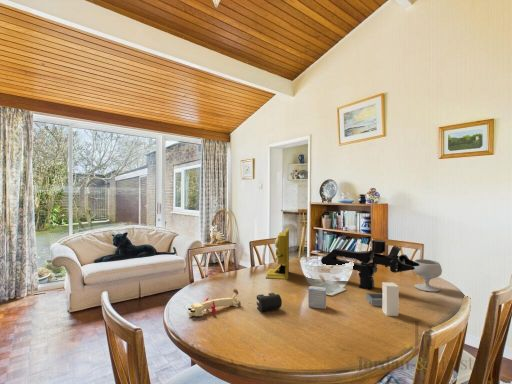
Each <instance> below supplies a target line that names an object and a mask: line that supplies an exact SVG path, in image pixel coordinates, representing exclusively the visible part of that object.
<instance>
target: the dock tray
mask: <svg viewBox="0 0 512 384" xmlns="http://www.w3.org/2000/svg"><path fill="white" fill-rule="evenodd" d="M365 299H366V301H368V303H369V304H370V306H372V307H382V293H381V292H378V293H377V292H366V293H365Z"/></svg>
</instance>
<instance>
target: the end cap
mask: <svg viewBox="0 0 512 384" xmlns="http://www.w3.org/2000/svg"><path fill="white" fill-rule="evenodd" d="M256 300H257V301H256V309H257V311H259V312H260V313H263V312H267V311H274V310H279V309H280V308H282V304H283V302H282V297H281V295H280V294H278V293H277V294H276V293H274V292H269V293H268V295H264V294H257V295H256Z"/></svg>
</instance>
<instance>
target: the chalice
mask: <svg viewBox="0 0 512 384" xmlns="http://www.w3.org/2000/svg"><path fill="white" fill-rule="evenodd" d="M414 262H417V263H419V266H414V267H415V269H414V270H412V271H413V272H414V273H415V275H418V276H419V277H421V278H422V279H423V280H424V283H417V284H415V285H414V288H415V289H418V290H420V291H424V292H434V293H435V292H439V291H441V289H440V288H439V287H437V286H434V285H431V284H429V283H430V281H431V280H433V279H437V278H438V277H440V276H441V275H442V272H443V268H442V266H441V264H440V262H439V261H435V260H431V259H424V258H423V259H422V258H421V259H420V258H419V259H415V260H414Z"/></svg>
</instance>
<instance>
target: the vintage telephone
mask: <svg viewBox="0 0 512 384" xmlns="http://www.w3.org/2000/svg"><path fill="white" fill-rule="evenodd" d="M274 246H275V248H276V249H275V261H277V264H278V265H277V266H276V268H269V269H268V270H267V273H266V276H265V279H272V280H273V279H274V280H275V279H276V280H277V279H278V280H286V281H289V272H290V258H289V257H290V227H286V229H285V232H284V231H281V232H278V234H277V237H276V239H275V241H274Z"/></svg>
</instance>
